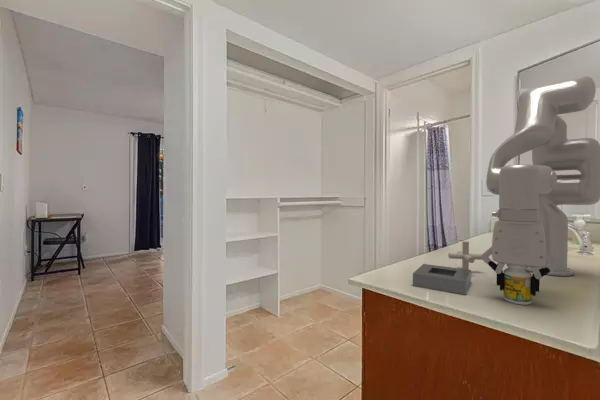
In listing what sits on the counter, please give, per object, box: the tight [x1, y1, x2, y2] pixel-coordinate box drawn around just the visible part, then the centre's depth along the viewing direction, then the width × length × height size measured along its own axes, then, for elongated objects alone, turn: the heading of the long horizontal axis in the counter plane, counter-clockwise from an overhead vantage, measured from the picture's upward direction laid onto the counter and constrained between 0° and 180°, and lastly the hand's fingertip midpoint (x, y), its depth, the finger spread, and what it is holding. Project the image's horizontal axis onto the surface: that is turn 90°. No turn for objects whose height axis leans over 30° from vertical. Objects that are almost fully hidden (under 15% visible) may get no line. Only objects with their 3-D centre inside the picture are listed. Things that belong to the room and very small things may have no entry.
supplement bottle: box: [502, 264, 533, 306], centre depth 68 cm, size 5×5×10 cm
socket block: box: [412, 263, 472, 296], centre depth 81 cm, size 13×13×4 cm
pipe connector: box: [448, 240, 483, 270], centre depth 94 cm, size 10×10×10 cm
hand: (517, 290), depth 68 cm, fingers closed on supplement bottle, 5 cm apart
